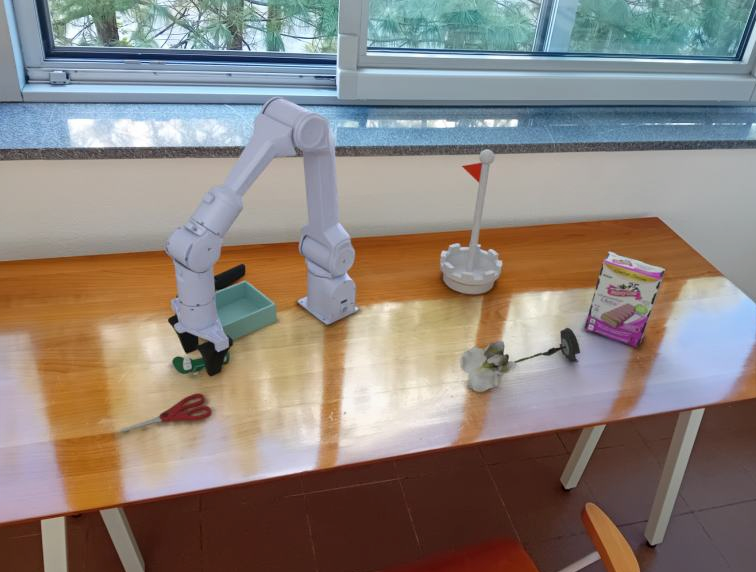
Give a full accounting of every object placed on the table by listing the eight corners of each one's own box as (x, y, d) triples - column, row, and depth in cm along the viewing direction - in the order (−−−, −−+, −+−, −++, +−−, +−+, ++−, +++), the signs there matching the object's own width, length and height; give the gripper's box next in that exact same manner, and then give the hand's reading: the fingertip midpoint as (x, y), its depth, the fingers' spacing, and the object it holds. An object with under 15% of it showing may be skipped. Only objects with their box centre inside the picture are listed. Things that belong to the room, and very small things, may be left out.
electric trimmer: (250, 280, 149) (250, 266, 147) (186, 310, 138) (185, 296, 136) (238, 272, 151) (238, 259, 149) (174, 302, 140) (172, 288, 138)
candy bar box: (583, 331, 145) (601, 261, 136) (589, 318, 149) (607, 249, 140) (639, 350, 141) (661, 279, 133) (644, 336, 145) (666, 267, 137)
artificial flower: (583, 378, 134) (596, 348, 127) (467, 406, 129) (474, 376, 122) (563, 339, 140) (574, 308, 132) (452, 364, 135) (457, 333, 127)
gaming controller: (175, 380, 124) (178, 377, 119) (170, 358, 125) (173, 354, 120) (229, 367, 128) (235, 364, 123) (225, 346, 129) (230, 342, 124)
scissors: (213, 416, 116) (212, 411, 115) (121, 446, 109) (120, 442, 108) (201, 395, 119) (201, 390, 119) (112, 423, 112) (111, 418, 112)
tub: (276, 321, 138) (276, 304, 136) (215, 348, 130) (213, 330, 128) (246, 297, 144) (245, 280, 142) (186, 321, 135) (184, 303, 133)
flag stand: (509, 277, 159) (533, 150, 143) (480, 304, 149) (502, 170, 133) (457, 256, 164) (475, 131, 148) (426, 281, 155) (441, 149, 139)
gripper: (150, 284, 119) (159, 349, 126) (198, 327, 110) (204, 394, 118) (190, 270, 123) (196, 334, 130) (238, 310, 115) (242, 376, 122)
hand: (202, 361), depth 124 cm, fingers closed on gaming controller, 7 cm apart
